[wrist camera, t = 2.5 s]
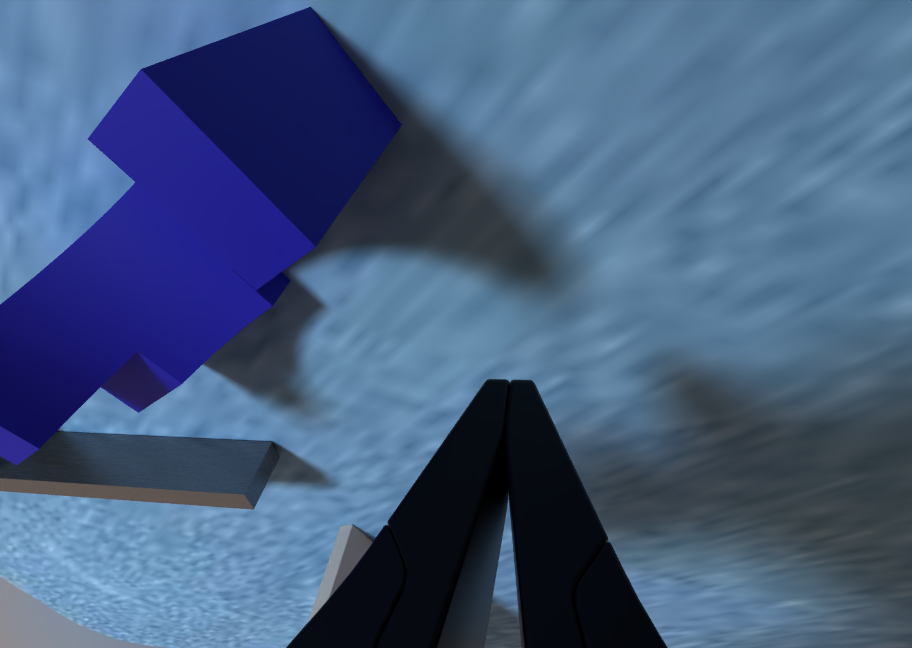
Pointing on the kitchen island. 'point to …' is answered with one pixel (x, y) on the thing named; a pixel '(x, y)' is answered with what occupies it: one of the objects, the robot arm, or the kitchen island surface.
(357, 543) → the hinge
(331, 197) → the blue stepped block
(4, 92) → the kitchen island surface
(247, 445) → the rail bay
